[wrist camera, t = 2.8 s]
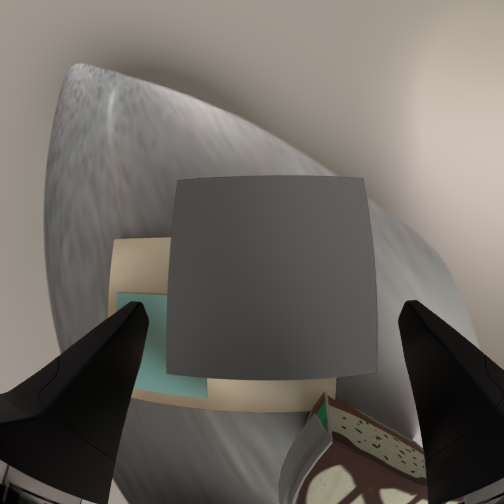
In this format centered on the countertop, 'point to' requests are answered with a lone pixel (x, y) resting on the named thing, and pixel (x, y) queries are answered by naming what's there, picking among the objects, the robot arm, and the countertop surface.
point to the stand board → (154, 356)
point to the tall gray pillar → (271, 279)
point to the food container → (352, 461)
